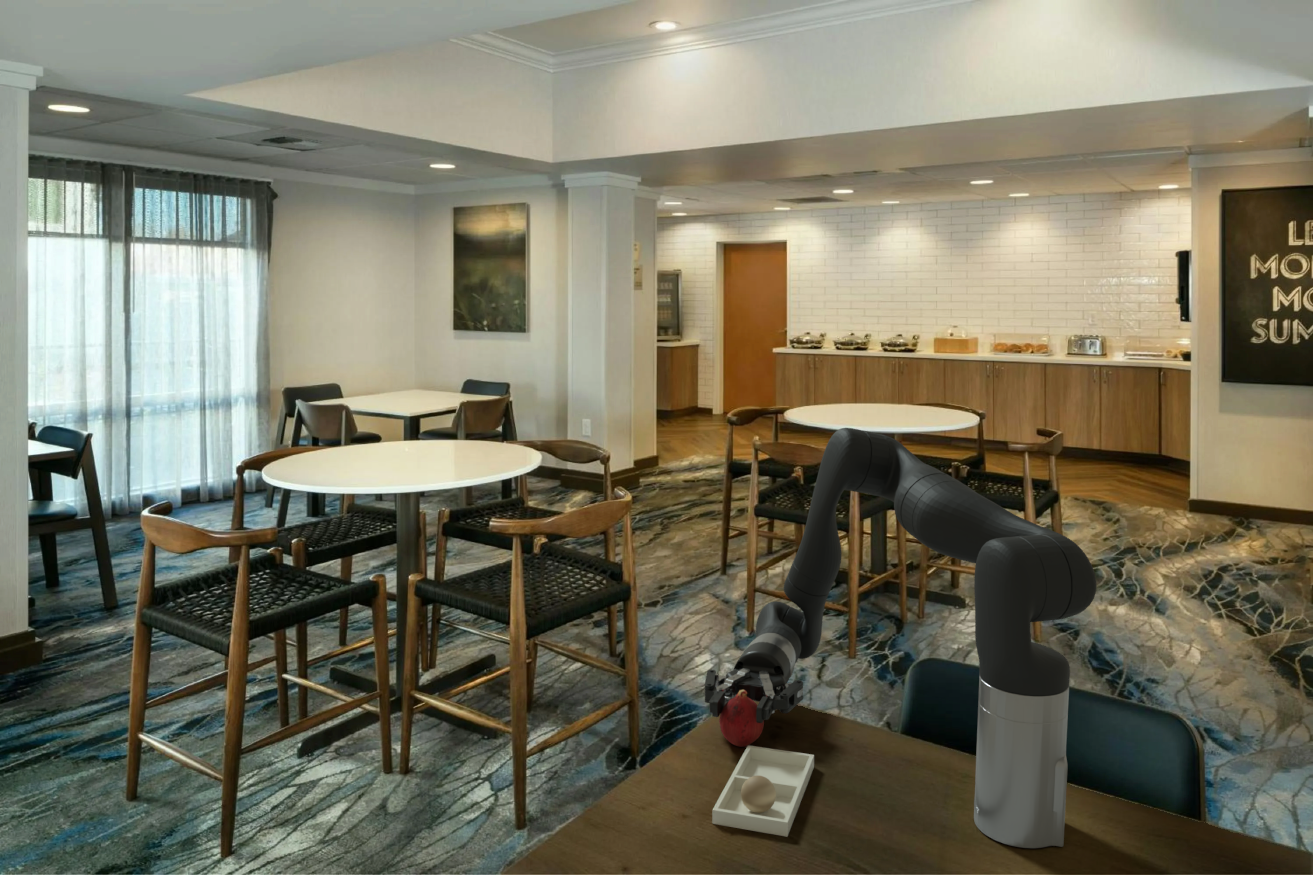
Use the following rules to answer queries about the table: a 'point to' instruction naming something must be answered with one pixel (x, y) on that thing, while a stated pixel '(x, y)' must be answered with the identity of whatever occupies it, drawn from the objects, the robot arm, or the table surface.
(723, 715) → the onion
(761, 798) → the beige wooden ball
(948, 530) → the robot arm
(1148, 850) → the table surface
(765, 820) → the white divided tray
